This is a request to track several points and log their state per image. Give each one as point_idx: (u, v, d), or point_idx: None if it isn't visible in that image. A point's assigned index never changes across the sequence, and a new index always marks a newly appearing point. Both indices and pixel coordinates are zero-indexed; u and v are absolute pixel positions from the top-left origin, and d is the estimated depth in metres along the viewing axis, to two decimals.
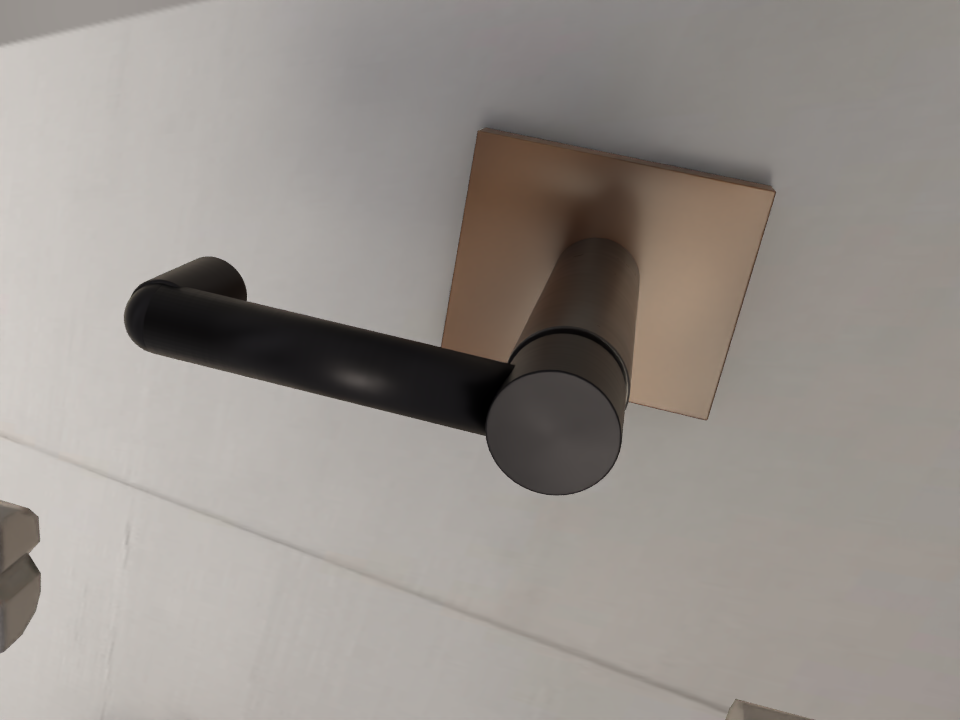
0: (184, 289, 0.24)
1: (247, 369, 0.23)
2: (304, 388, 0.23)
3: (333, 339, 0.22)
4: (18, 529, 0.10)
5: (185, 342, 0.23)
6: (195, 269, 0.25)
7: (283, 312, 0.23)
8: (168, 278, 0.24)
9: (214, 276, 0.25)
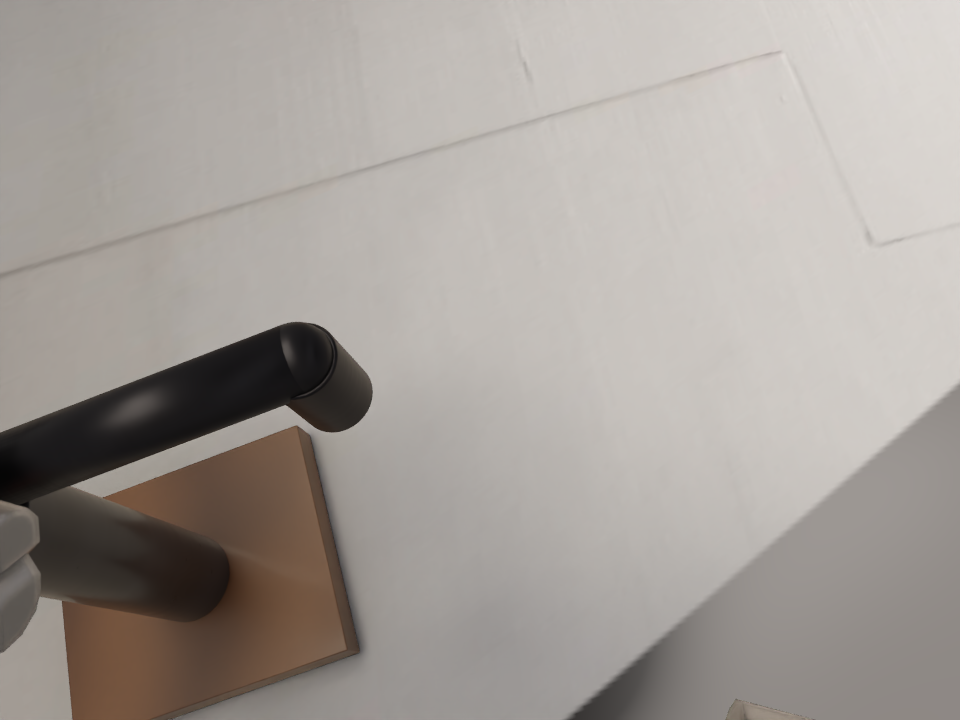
0: (286, 399, 0.22)
1: (175, 370, 0.22)
2: (122, 387, 0.23)
3: (112, 448, 0.22)
4: (18, 529, 0.10)
5: (238, 358, 0.22)
6: (323, 415, 0.24)
7: (183, 438, 0.23)
8: (310, 399, 0.22)
9: (309, 418, 0.24)
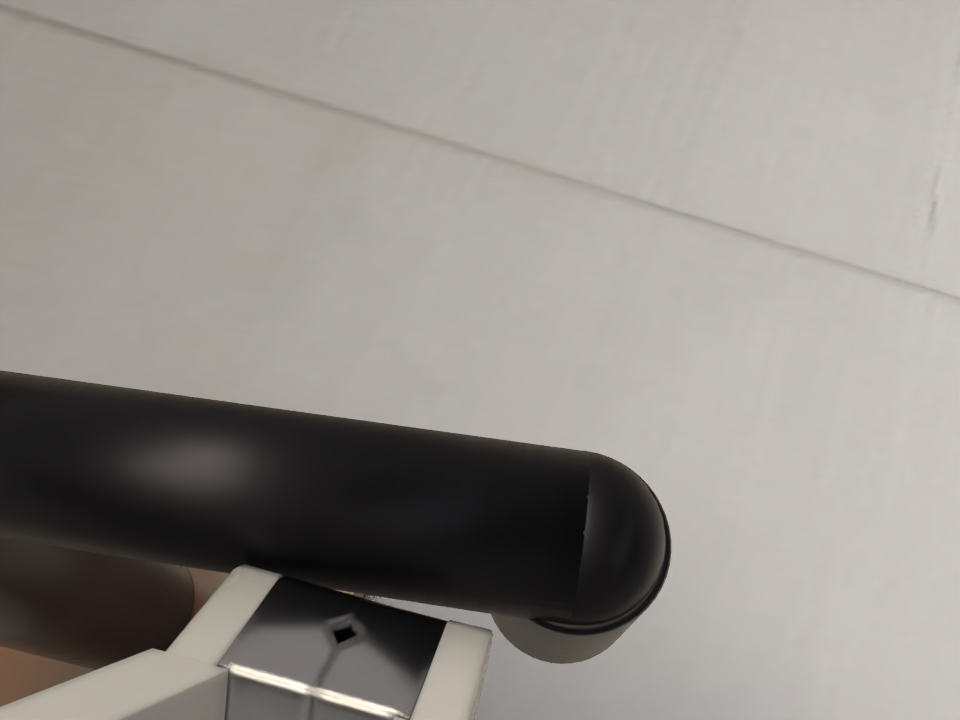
0: (521, 614, 0.10)
1: (328, 438, 0.10)
2: (202, 407, 0.10)
3: (117, 530, 0.10)
4: None
5: (476, 489, 0.09)
6: (549, 648, 0.11)
7: None
8: (568, 636, 0.10)
9: (514, 631, 0.11)
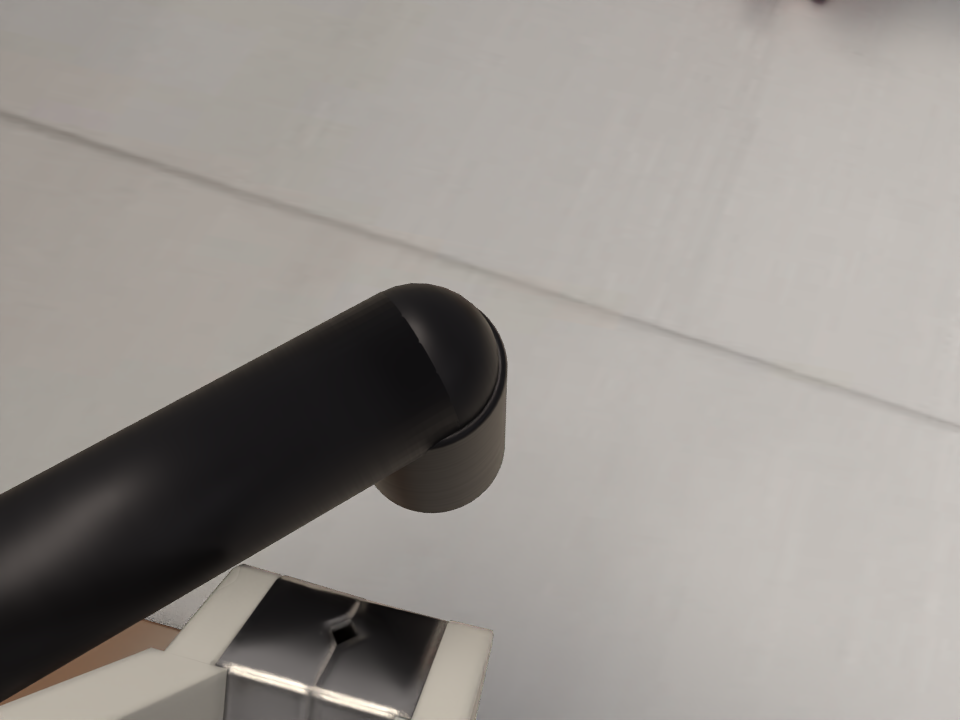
0: (418, 451, 0.10)
1: (155, 426, 0.09)
2: (17, 490, 0.09)
3: (18, 647, 0.09)
4: None
5: (313, 373, 0.10)
6: (459, 477, 0.12)
7: (194, 584, 0.10)
8: (466, 441, 0.10)
9: (425, 490, 0.12)
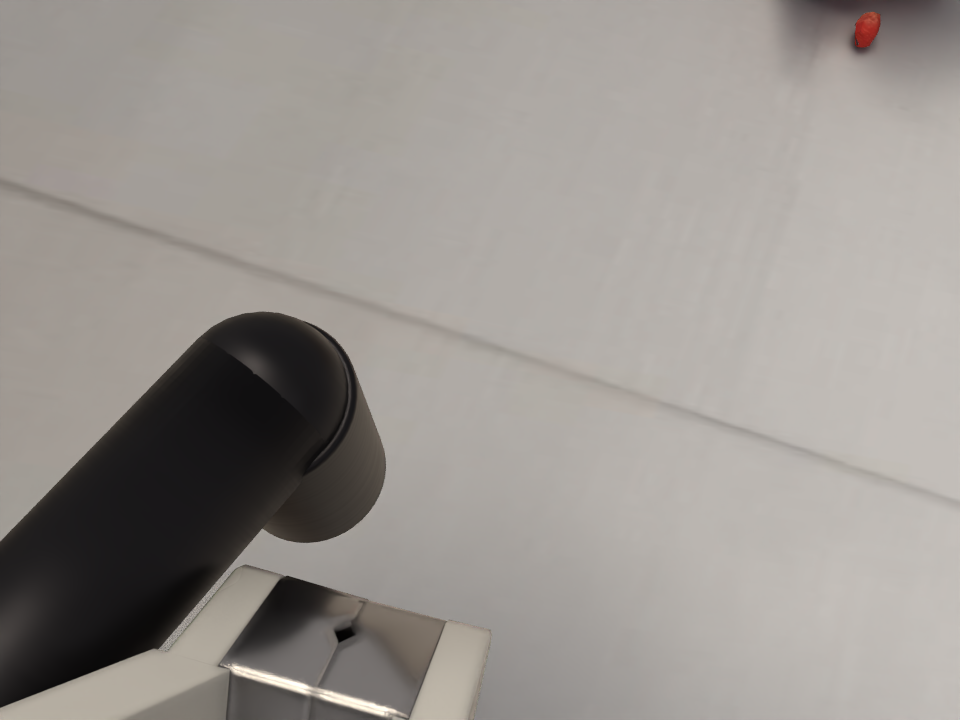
0: (294, 481, 0.10)
1: (2, 558, 0.09)
2: None
3: None
4: None
5: (154, 443, 0.09)
6: (346, 493, 0.11)
7: None
8: (338, 454, 0.10)
9: (316, 517, 0.11)
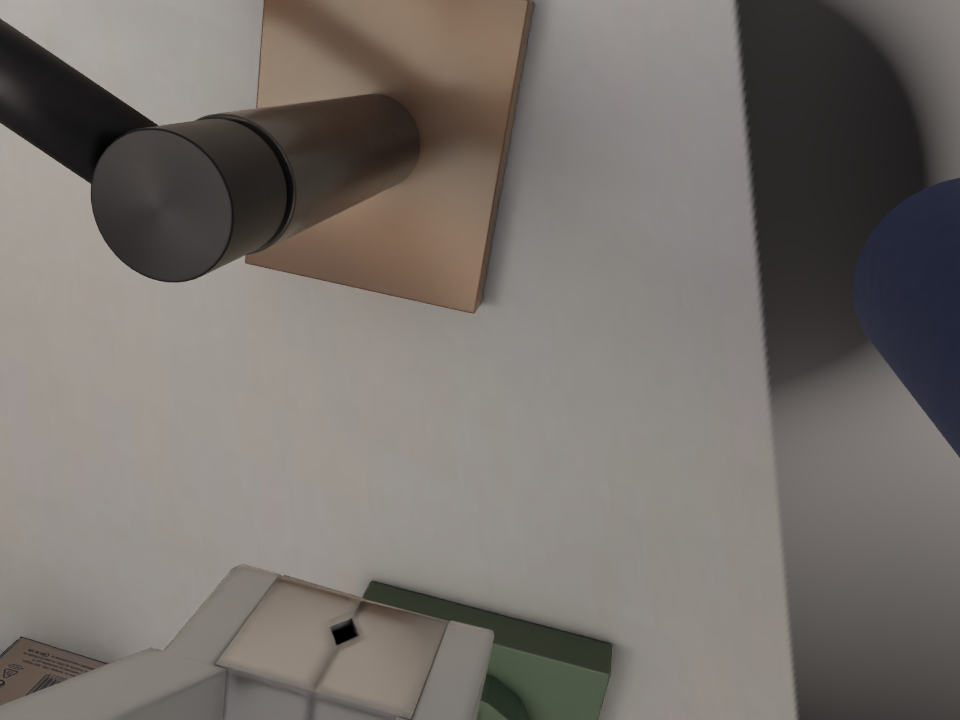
0: None
1: None
2: None
3: None
4: None
5: None
6: None
7: None
8: None
9: None
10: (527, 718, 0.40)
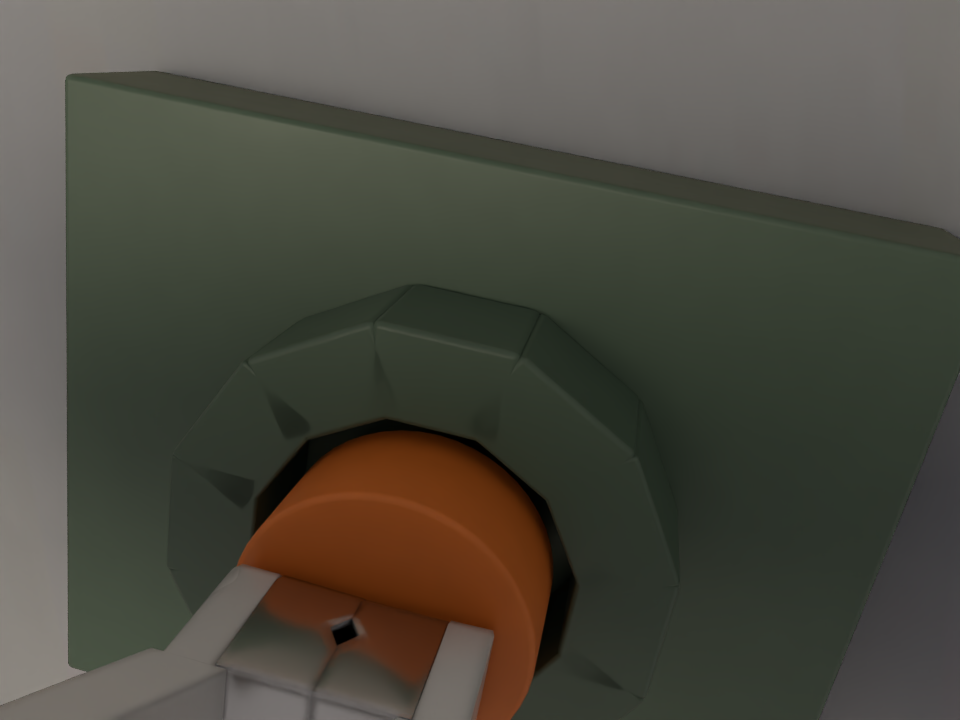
0: None
1: None
2: None
3: None
4: None
5: None
6: None
7: None
8: None
9: None
10: (662, 467, 0.11)
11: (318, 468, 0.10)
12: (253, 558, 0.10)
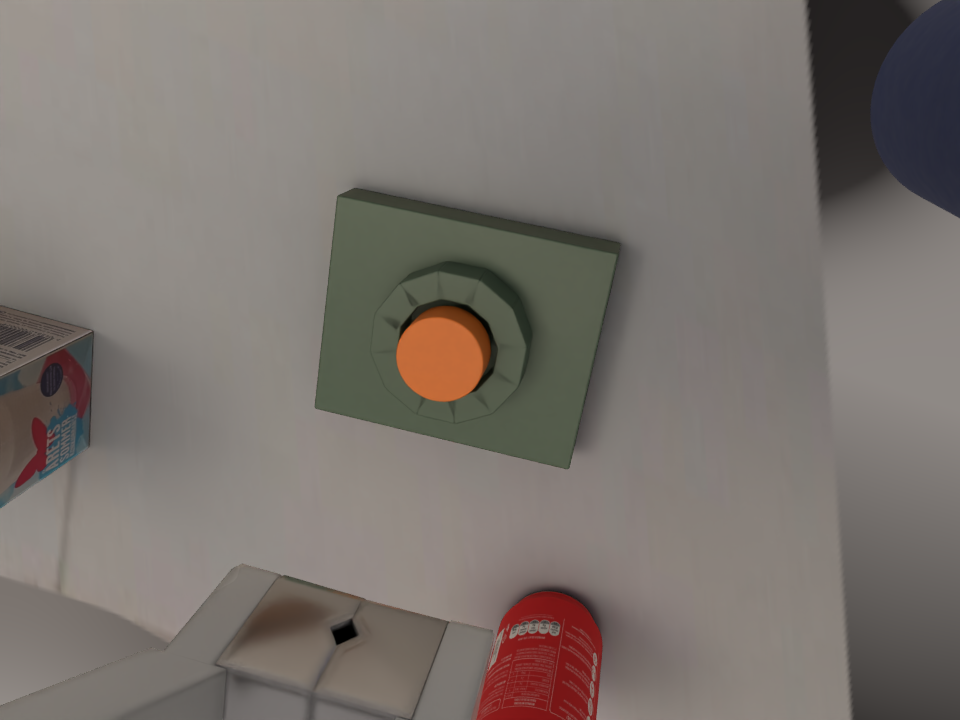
0: None
1: None
2: None
3: None
4: None
5: None
6: None
7: None
8: None
9: None
10: (526, 318, 0.36)
11: (420, 316, 0.35)
12: (404, 338, 0.34)
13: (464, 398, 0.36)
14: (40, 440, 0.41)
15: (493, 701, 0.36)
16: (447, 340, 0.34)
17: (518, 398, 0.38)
